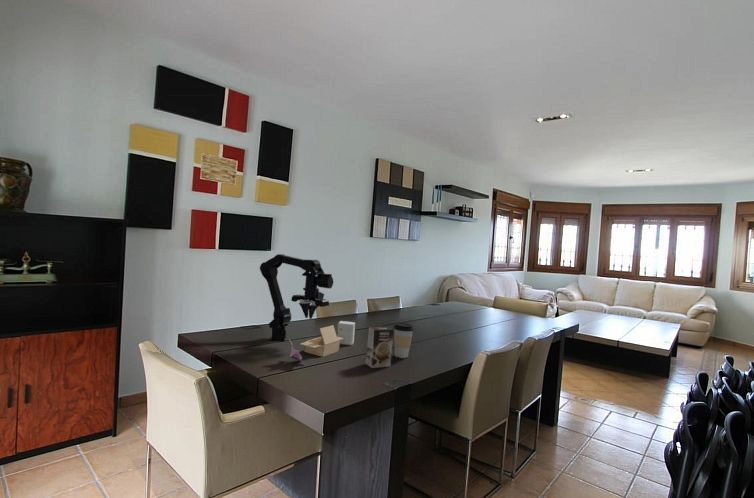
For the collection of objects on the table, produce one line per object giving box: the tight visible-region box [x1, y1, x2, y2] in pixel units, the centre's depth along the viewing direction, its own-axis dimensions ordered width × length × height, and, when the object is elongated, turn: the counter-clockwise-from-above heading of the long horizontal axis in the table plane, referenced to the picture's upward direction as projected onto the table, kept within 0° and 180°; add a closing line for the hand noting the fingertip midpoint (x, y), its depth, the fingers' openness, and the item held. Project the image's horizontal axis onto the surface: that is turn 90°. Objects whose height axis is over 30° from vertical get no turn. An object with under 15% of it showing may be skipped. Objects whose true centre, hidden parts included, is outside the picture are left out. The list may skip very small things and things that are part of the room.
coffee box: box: [365, 326, 395, 369], centre depth 170 cm, size 9×6×16 cm
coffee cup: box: [393, 322, 414, 359], centre depth 186 cm, size 9×9×15 cm
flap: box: [319, 324, 338, 345], centre depth 181 cm, size 8×10×1 cm
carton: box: [300, 336, 344, 358], centre depth 183 cm, size 11×22×5 cm, turn 151°
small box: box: [336, 320, 356, 346], centre depth 200 cm, size 8×6×10 cm
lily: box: [284, 338, 304, 364], centre depth 163 cm, size 12×12×10 cm
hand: (308, 318), depth 191 cm, fingers open, 2 cm apart
